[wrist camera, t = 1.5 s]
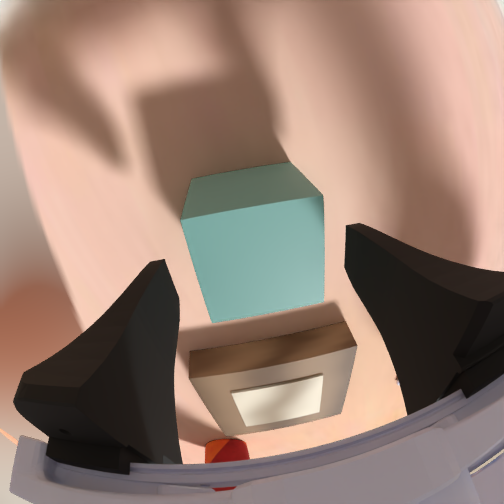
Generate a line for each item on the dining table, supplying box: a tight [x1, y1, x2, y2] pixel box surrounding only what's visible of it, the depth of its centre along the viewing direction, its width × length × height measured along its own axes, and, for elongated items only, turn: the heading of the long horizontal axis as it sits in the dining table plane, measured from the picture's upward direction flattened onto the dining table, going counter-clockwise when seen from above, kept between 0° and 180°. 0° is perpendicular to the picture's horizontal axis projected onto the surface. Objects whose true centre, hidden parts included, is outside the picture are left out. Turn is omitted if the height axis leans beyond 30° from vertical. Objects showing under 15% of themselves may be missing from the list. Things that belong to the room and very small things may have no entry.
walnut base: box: [189, 321, 357, 436], centre depth 23 cm, size 12×12×3 cm
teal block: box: [180, 162, 325, 323], centre depth 13 cm, size 5×5×5 cm
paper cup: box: [205, 439, 250, 492], centre depth 26 cm, size 8×8×14 cm
